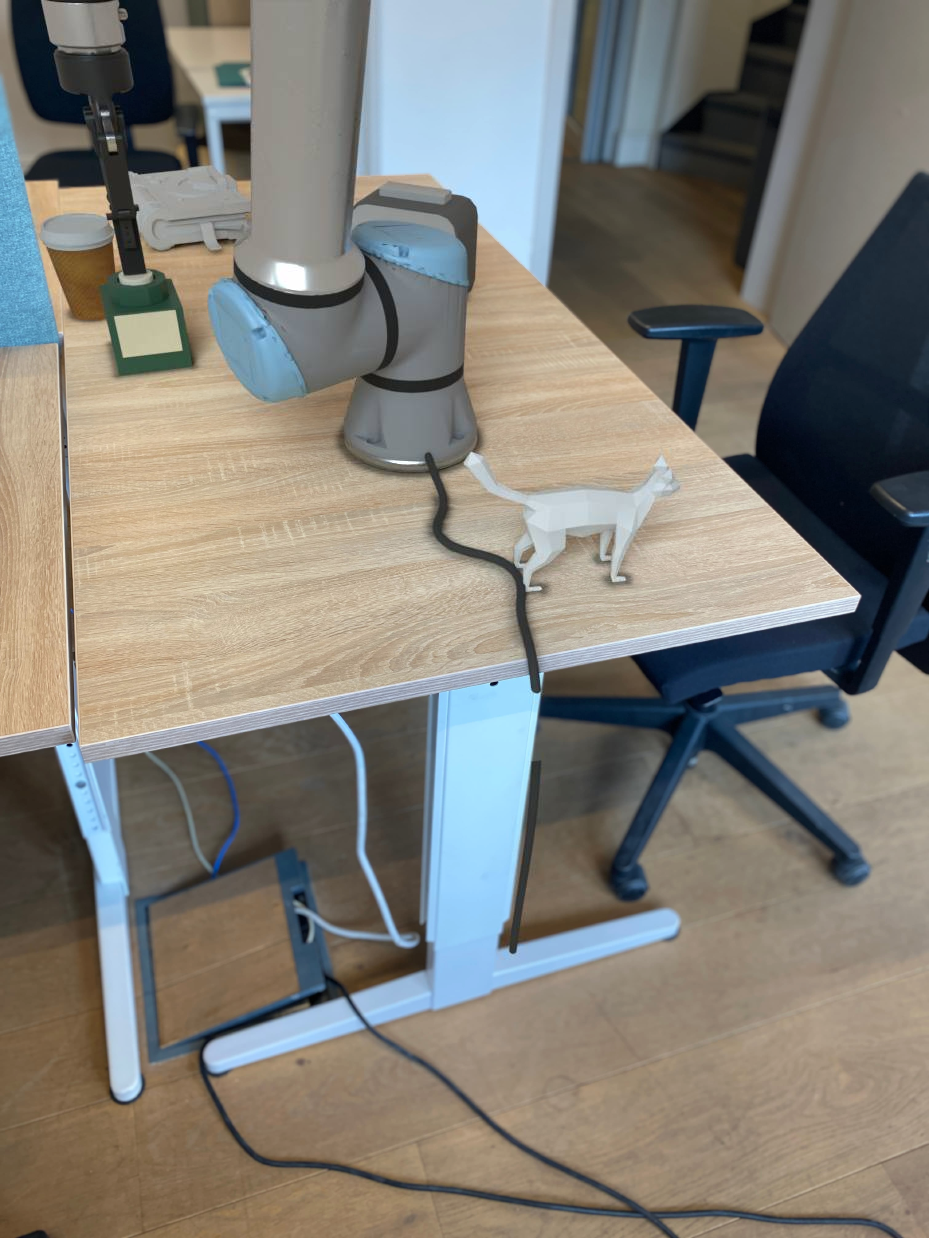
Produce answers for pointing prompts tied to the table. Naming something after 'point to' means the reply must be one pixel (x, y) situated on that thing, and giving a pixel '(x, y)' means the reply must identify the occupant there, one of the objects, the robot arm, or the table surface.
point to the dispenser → (144, 301)
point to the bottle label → (148, 333)
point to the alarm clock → (424, 213)
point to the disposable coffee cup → (80, 259)
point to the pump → (136, 278)
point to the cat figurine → (578, 514)
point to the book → (189, 207)
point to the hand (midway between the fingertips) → (134, 271)
